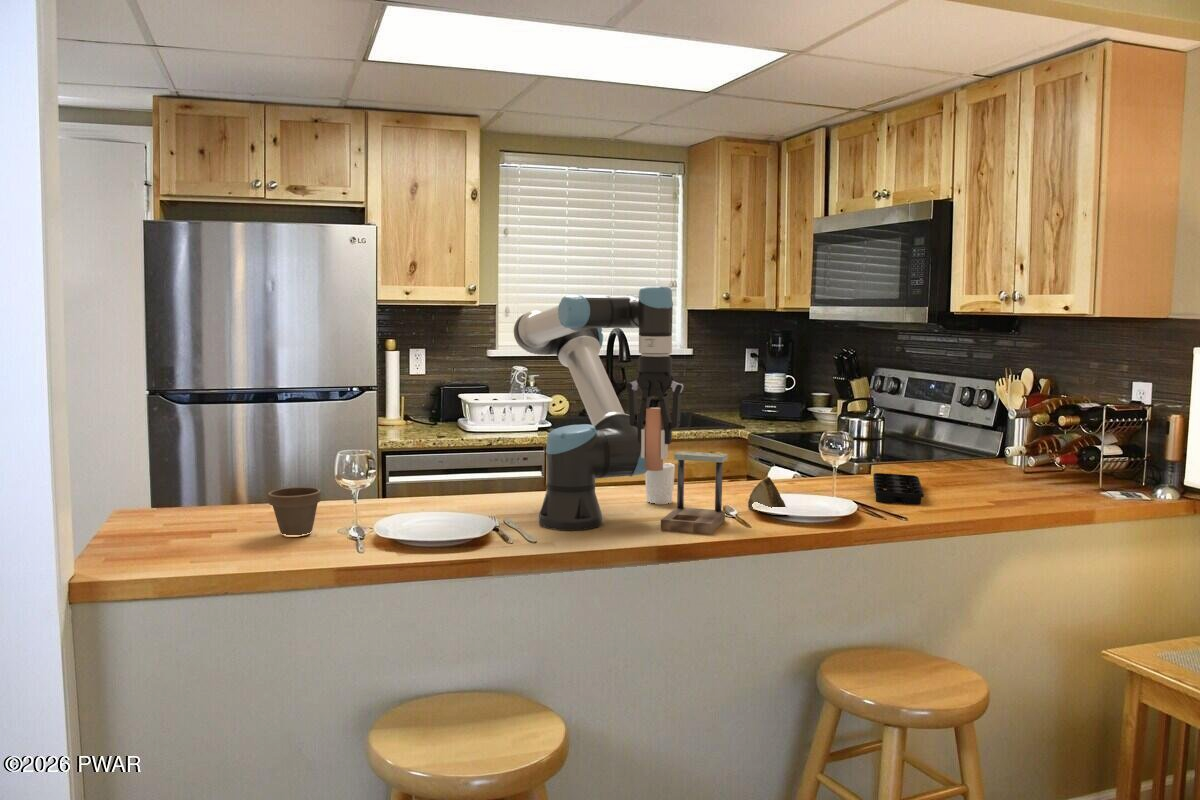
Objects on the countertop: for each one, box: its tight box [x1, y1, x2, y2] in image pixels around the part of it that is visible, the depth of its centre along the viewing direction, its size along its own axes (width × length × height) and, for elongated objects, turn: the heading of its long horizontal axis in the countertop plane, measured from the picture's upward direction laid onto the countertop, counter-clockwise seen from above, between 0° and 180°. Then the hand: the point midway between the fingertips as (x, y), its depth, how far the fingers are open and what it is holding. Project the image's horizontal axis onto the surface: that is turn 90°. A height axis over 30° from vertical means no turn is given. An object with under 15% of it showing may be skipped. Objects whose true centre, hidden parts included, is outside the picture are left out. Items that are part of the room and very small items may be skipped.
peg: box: [645, 407, 664, 471], centre depth 227 cm, size 4×4×14 cm
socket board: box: [660, 506, 726, 535], centre depth 238 cm, size 12×15×2 cm
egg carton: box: [872, 472, 925, 506], centre depth 278 cm, size 18×30×4 cm, turn 178°
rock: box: [747, 475, 787, 513], centre depth 254 cm, size 11×9×10 cm
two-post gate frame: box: [673, 450, 728, 512], centre depth 243 cm, size 12×5×14 cm, turn 71°
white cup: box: [644, 462, 676, 505], centre depth 264 cm, size 8×8×10 cm
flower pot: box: [267, 486, 322, 535], centre depth 225 cm, size 12×11×10 cm
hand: (654, 457), depth 228 cm, fingers closed on peg, 4 cm apart
